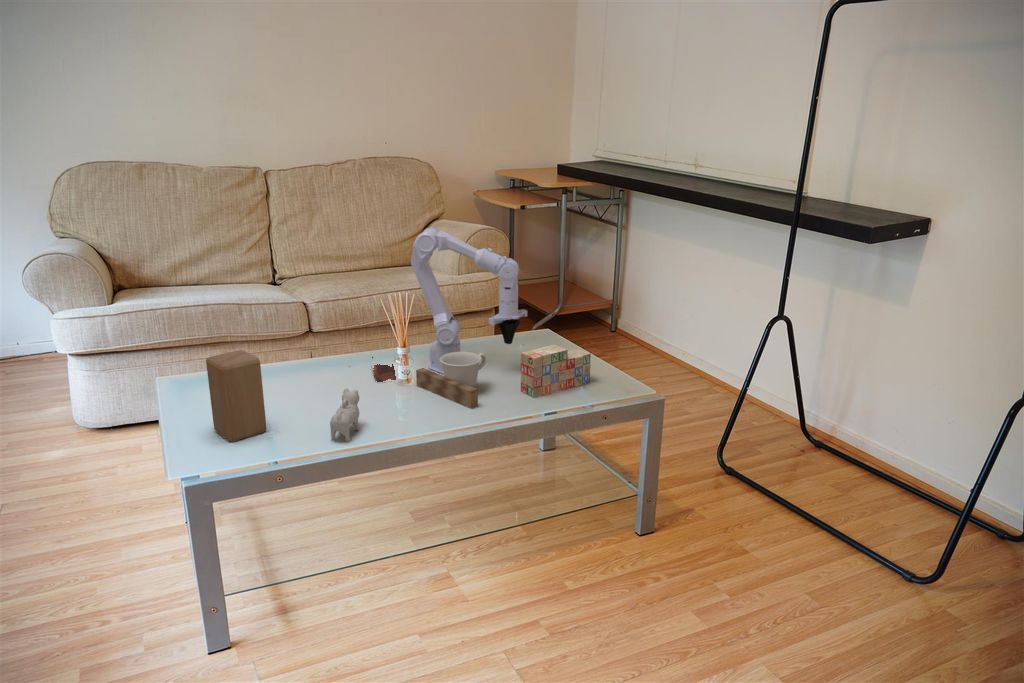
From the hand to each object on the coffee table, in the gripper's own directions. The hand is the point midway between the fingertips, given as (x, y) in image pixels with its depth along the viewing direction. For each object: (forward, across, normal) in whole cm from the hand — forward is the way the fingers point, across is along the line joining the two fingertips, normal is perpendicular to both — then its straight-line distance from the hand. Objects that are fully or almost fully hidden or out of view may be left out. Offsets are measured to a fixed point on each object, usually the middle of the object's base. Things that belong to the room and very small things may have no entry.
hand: (508, 343), depth 237 cm
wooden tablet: (+10, -24, +29) cm, 39 cm away
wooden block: (+10, -80, +15) cm, 82 cm away
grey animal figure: (+10, -61, -4) cm, 62 cm away
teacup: (+10, -19, -2) cm, 22 cm away
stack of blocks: (+10, +1, -19) cm, 21 cm away
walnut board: (+9, -26, -2) cm, 28 cm away
